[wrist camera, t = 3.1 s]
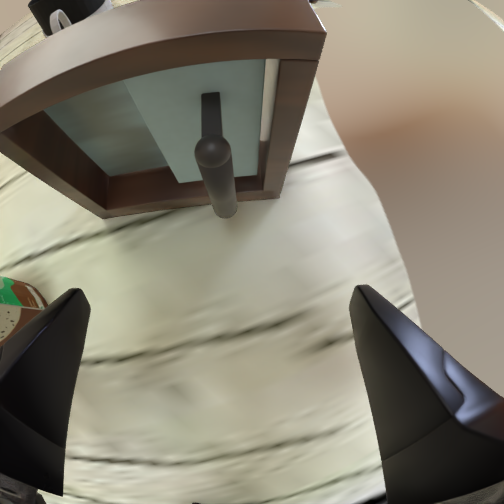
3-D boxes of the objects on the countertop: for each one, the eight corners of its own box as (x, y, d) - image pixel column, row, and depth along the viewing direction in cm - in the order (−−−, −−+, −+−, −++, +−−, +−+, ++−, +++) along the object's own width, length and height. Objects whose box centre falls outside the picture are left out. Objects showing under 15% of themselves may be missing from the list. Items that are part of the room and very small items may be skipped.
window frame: (272, 150, 22) (298, -16, 7) (279, 198, 21) (328, 32, 6) (106, 173, 22) (2, 65, 6) (102, 219, 21) (-31, 130, 6)
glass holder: (132, 38, 25) (102, -43, 10) (148, 97, 23) (98, -19, 8) (75, 67, 25) (31, -5, 10) (75, 135, 22) (-2, 47, 8)
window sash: (256, 167, 19) (264, 43, 8) (263, 225, 19) (282, 127, 8) (178, 175, 19) (122, 64, 8) (179, 233, 18) (101, 152, 7)
